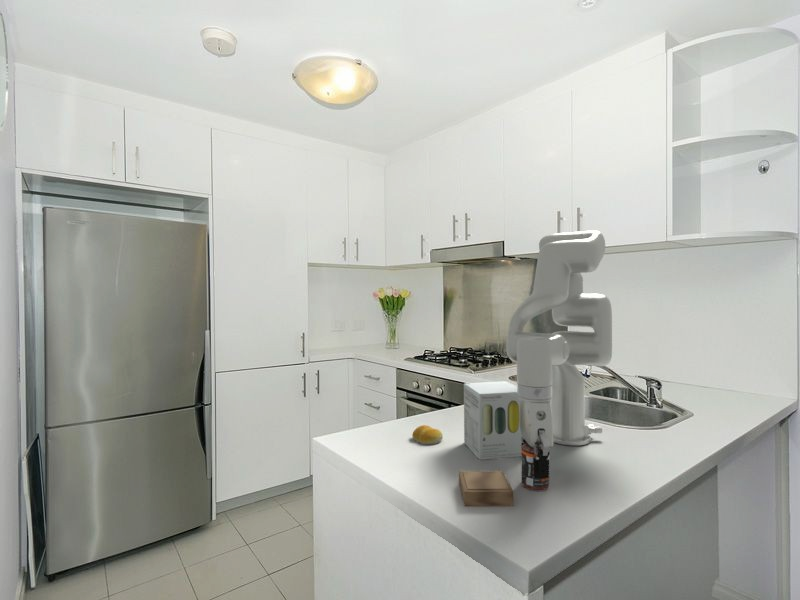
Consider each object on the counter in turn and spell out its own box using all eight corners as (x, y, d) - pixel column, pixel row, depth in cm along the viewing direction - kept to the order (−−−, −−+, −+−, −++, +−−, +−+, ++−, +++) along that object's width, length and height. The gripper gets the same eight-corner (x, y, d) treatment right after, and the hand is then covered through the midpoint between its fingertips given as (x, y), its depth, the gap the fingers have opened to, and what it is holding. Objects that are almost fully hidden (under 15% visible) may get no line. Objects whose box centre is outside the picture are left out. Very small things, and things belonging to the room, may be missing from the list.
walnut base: (503, 483, 97) (502, 469, 97) (513, 506, 87) (513, 490, 87) (459, 483, 98) (458, 470, 98) (464, 506, 88) (464, 490, 88)
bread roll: (429, 447, 121) (429, 433, 121) (408, 439, 128) (407, 426, 128) (449, 440, 126) (449, 427, 126) (428, 433, 133) (427, 420, 133)
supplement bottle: (533, 494, 92) (533, 442, 92) (515, 483, 98) (515, 433, 98) (555, 488, 95) (554, 438, 94) (536, 478, 100) (536, 430, 100)
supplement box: (479, 460, 111) (478, 393, 110) (463, 442, 124) (462, 382, 123) (527, 456, 113) (526, 390, 113) (506, 439, 126) (506, 380, 126)
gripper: (565, 401, 87) (565, 485, 87) (539, 384, 104) (539, 453, 104) (528, 401, 87) (528, 485, 87) (508, 384, 104) (508, 453, 105)
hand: (534, 468), depth 96 cm, fingers open, 9 cm apart
